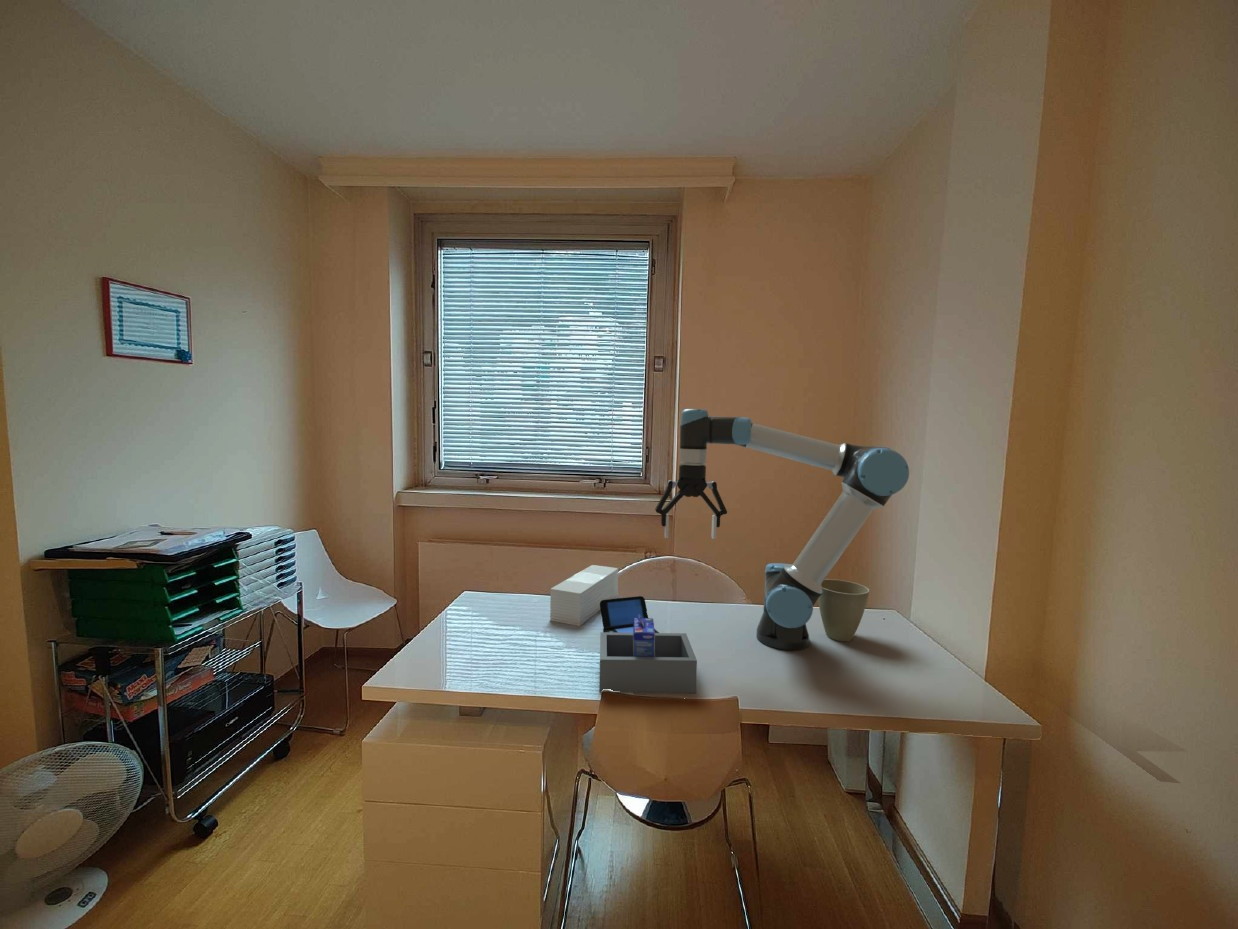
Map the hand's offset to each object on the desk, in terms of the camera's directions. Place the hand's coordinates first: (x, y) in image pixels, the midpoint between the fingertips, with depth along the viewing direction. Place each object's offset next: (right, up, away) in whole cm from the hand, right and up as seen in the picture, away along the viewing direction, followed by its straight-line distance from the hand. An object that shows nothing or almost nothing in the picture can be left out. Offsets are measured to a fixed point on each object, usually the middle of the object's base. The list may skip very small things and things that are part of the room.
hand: (689, 538), depth 146 cm
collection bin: (-14, -33, -17) cm, 39 cm away
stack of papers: (-32, -29, +32) cm, 54 cm away
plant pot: (+48, -32, +12) cm, 59 cm away
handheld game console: (-17, -31, +11) cm, 37 cm away
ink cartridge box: (-14, -32, -17) cm, 38 cm away
